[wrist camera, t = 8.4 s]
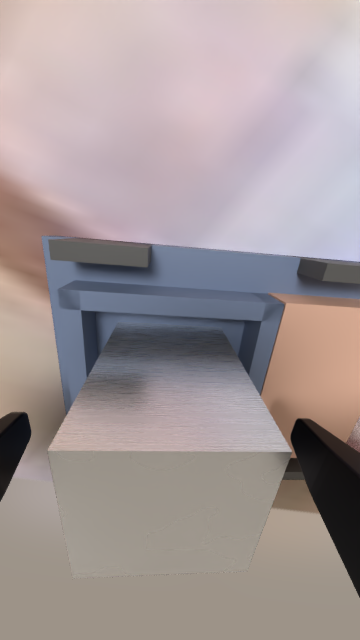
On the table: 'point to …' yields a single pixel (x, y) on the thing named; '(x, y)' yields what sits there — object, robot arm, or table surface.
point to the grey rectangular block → (166, 457)
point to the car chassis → (219, 318)
